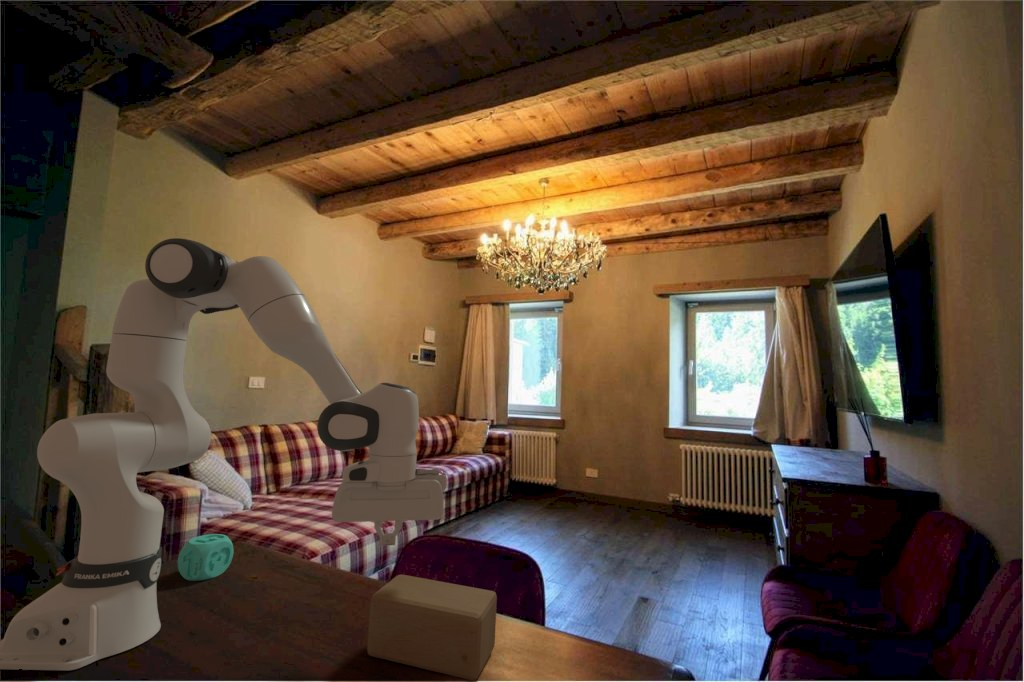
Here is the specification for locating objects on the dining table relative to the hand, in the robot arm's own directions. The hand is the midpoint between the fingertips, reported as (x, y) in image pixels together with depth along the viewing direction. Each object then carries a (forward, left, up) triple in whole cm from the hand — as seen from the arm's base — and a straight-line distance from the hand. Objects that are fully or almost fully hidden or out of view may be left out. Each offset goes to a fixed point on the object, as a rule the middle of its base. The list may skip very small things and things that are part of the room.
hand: (387, 544), depth 84 cm
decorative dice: (-42, +34, -16) cm, 57 cm away
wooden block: (0, -2, -11) cm, 11 cm away
